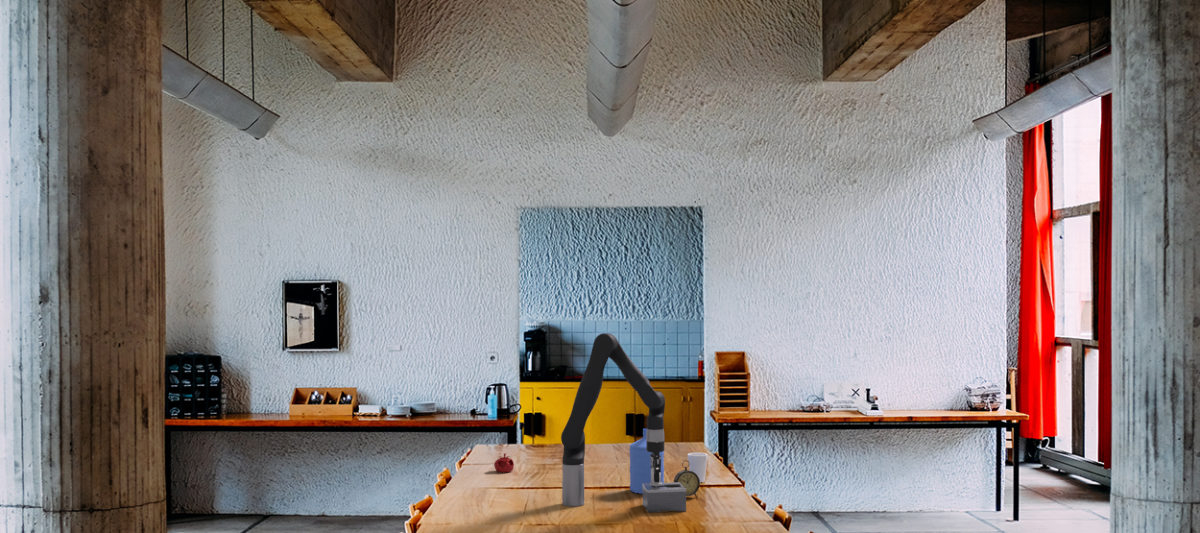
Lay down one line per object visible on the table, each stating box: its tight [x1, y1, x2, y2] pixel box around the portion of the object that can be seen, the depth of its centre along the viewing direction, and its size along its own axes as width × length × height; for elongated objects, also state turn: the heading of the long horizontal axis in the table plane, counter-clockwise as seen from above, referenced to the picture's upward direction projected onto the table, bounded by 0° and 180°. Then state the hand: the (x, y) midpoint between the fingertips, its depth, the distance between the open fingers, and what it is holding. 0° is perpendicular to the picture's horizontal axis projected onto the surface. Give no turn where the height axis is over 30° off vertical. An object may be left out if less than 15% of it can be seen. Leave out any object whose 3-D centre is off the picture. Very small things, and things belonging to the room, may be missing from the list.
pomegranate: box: [493, 452, 515, 473], centre depth 460 cm, size 10×10×9 cm
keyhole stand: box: [642, 481, 687, 513], centre depth 377 cm, size 16×14×9 cm
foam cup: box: [687, 452, 709, 483], centre depth 430 cm, size 10×9×13 cm
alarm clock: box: [673, 459, 701, 498], centre depth 396 cm, size 11×5×16 cm, turn 105°
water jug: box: [629, 428, 665, 495], centre depth 411 cm, size 16×16×28 cm
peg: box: [650, 468, 662, 487], centre depth 377 cm, size 5×5×10 cm
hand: (655, 480), depth 377 cm, fingers closed on peg, 4 cm apart
